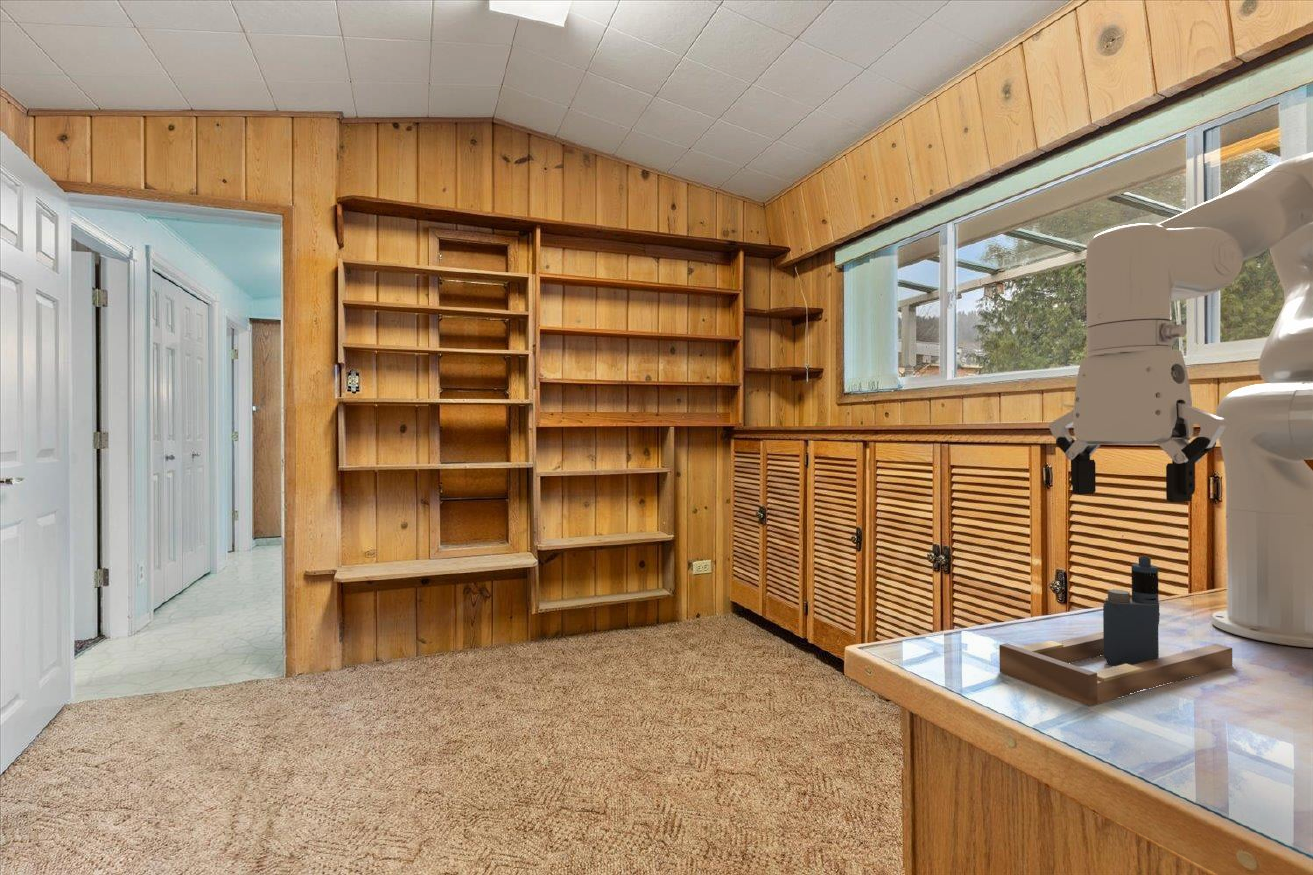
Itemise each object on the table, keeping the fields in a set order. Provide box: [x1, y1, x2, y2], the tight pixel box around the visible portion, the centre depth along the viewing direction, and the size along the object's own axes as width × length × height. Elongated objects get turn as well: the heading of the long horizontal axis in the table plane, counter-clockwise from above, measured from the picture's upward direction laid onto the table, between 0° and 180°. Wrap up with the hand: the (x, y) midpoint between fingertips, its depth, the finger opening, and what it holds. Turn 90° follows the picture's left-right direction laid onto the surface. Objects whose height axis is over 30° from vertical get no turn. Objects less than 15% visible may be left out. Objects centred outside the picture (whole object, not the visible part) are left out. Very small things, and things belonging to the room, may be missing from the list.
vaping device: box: [1102, 556, 1161, 667], centre depth 70 cm, size 3×5×12 cm, turn 78°
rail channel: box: [998, 631, 1233, 707], centre depth 69 cm, size 24×10×3 cm, turn 113°
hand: (1128, 497), depth 70 cm, fingers open, 9 cm apart
